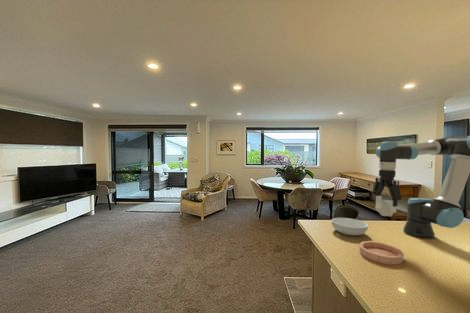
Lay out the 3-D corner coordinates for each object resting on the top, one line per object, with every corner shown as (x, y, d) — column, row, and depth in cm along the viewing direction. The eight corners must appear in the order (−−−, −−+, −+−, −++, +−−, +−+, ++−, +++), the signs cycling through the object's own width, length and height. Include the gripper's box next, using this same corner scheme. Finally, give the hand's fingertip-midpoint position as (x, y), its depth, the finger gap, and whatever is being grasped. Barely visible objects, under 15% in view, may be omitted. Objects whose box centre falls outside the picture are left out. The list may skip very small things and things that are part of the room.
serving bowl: (368, 231, 142) (368, 220, 142) (367, 242, 125) (367, 230, 124) (333, 225, 153) (333, 215, 153) (328, 234, 136) (328, 223, 136)
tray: (381, 246, 119) (382, 240, 119) (412, 263, 101) (412, 256, 101) (351, 248, 117) (351, 241, 117) (377, 265, 99) (377, 258, 99)
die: (395, 220, 114) (401, 204, 117) (379, 210, 116) (385, 195, 119) (385, 220, 122) (391, 205, 125) (370, 212, 124) (376, 197, 127)
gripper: (366, 167, 131) (365, 204, 131) (398, 171, 108) (396, 215, 109) (378, 168, 131) (376, 204, 132) (411, 171, 109) (409, 215, 110)
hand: (385, 209), depth 121 cm, fingers closed on die, 10 cm apart
